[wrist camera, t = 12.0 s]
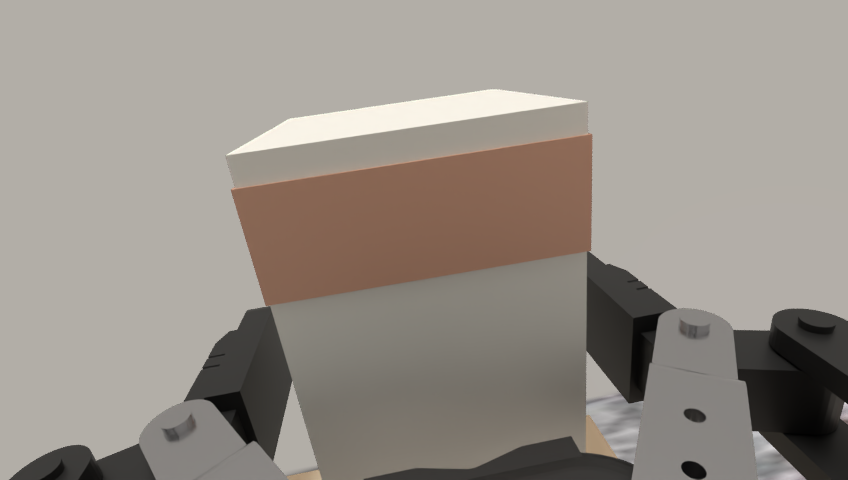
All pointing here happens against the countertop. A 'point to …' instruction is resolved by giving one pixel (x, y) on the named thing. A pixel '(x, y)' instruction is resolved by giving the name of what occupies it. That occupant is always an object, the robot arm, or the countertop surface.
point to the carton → (426, 275)
